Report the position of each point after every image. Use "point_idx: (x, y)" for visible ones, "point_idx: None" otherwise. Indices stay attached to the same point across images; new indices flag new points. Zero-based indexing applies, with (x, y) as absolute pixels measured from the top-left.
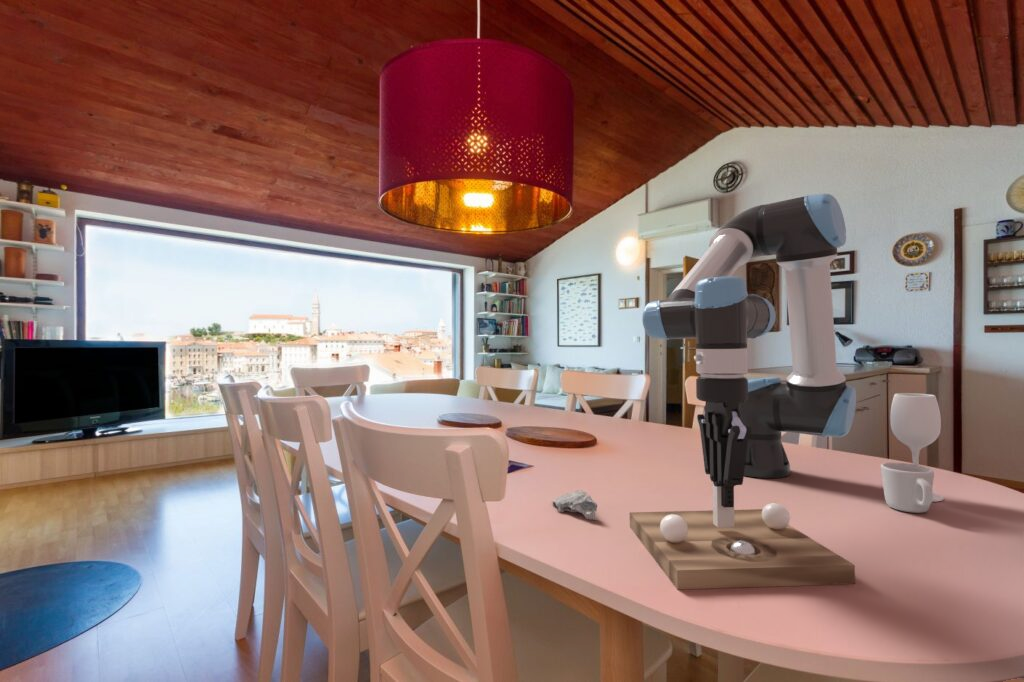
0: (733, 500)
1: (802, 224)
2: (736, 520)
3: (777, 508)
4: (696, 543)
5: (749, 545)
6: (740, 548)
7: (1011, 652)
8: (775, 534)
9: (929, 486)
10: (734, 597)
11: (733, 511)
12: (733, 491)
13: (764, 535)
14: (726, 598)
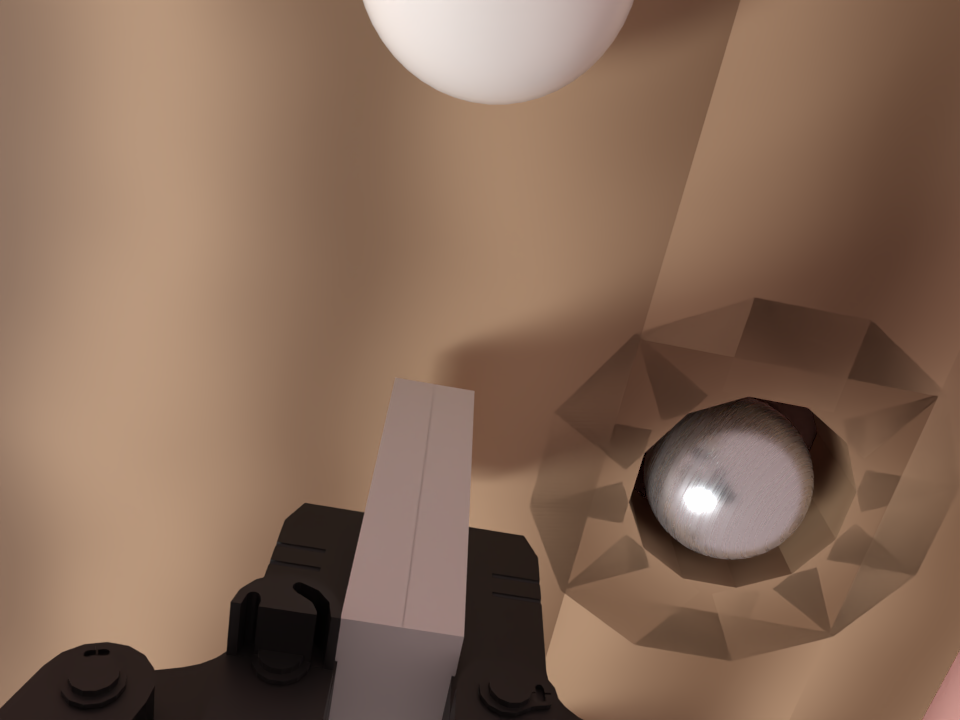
0: (539, 586)
1: None
2: (231, 174)
3: (581, 9)
4: (571, 692)
5: (789, 496)
6: (773, 548)
7: None
8: (614, 76)
9: None
10: (956, 673)
11: (469, 462)
12: (544, 655)
13: (599, 186)
14: (945, 705)
